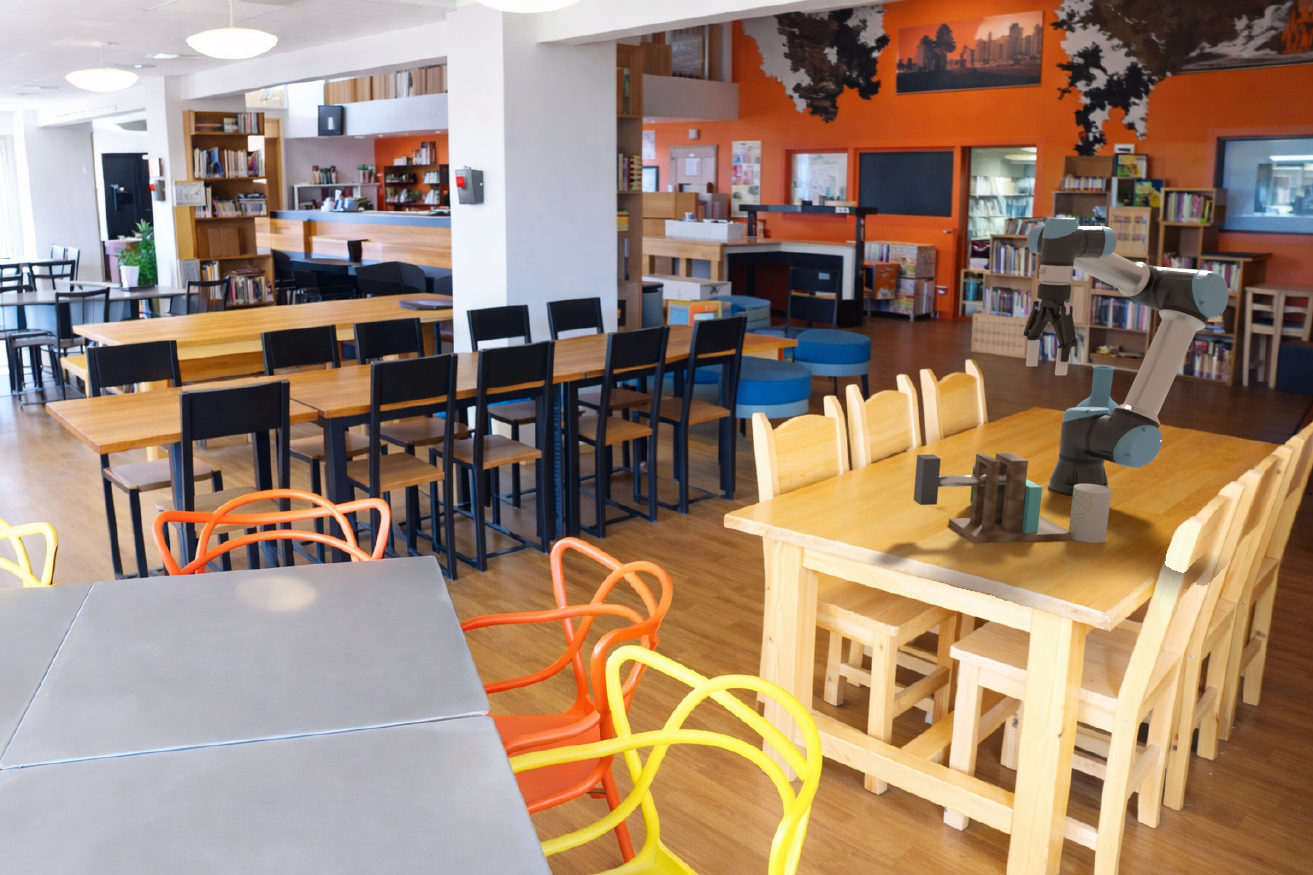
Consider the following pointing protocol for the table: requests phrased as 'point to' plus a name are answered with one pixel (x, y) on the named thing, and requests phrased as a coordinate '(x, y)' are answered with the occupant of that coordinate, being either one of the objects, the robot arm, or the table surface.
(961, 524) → the stand
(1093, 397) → the vase
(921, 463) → the shaft
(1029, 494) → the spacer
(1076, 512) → the cup
